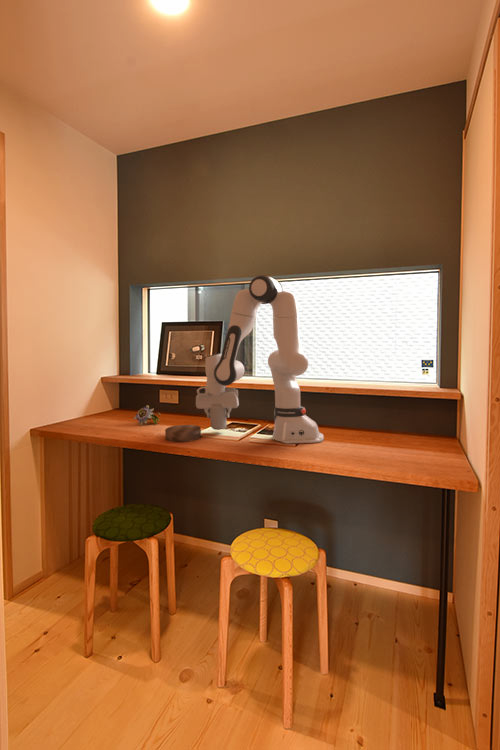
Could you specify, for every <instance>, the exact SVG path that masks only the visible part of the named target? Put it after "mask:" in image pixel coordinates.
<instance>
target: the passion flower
mask: <svg viewBox="0 0 500 750" xmlns="http://www.w3.org/2000/svg"><path fill="white" fill-rule="evenodd" d="M154 410H155V408H154V407H153V408H150V406H149V405H148V404H146V406H144V407H142V408H139V409H138V410H137V413H136V414H135V415H134V417H133V419H134V420H137V424H138V425H139V424H140V426H143V425H144V424H147V423H148V420H149V422H153V424H155V425H158V422H160V418H159V417H158V416H160V417H161V413H160V412H159V411H158V412H155V413H154V412H153V411H154ZM156 414H158V416H157V415H156Z"/></svg>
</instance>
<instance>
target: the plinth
mask: <svg viewBox="0 0 500 750" xmlns="http://www.w3.org/2000/svg"><path fill="white" fill-rule="evenodd" d="M164 430H165V431H164V432H165V433H164V434H165V440H166V441H168V442H170V441H171V442H170V443H186V442H193V441H196V440H199V439H200V438H202V431H201V430H202V429H201V426H199V425H195V424H178V425H173V426H169V427H167V428H165V429H164Z"/></svg>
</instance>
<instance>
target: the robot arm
mask: <svg viewBox="0 0 500 750" xmlns="http://www.w3.org/2000/svg"><path fill="white" fill-rule="evenodd" d="M234 298H235V299H234V301H233V304H232V308H231V314H230V319H229V324H228V329H227V333H226V336H225V340H224V342H223V343H224V344H223V346H222V347H223V348H222V351H221V353H214V354H211V355H210V354H209V355H208V356H206V358H205V365H204V366H205V375H206V385H203V386H201V387H199V388H198V389H196V393H197V394H196V396H195V407H196V408H197V409H198V410H200V409H201V410H202V409H204V412H205V415H206V417H207V419H210V411H209V410H210V407H211V406H212V405H211V404H213V405H218V404H221V406H222V407H223V408H226V411H228V412H226V414H225V417H226V419H227V418H230V413H231V412H232V409H237V408H238V407H239V406H240V403H239V402H240V401H239V390H238V389H237V388H235V387H227V386H230V385H231V384H233V383H234V382H237V381H239V380H240V379H242V378H243V377H244V375H245V372H246V371H245V366H244V364H243V363H242V362H241V361H239V360H237V359H236V358H237V354H238V350H239V347H240V344H241V343H242V341H243V340H244V339H245V338H246V337H247V336H249V334H250V333H251V332H252V330H253V328H254V326H255V322H256V318H257V312H258V309H259V307H260V306H261V305H267V304H270V305H271V308H272V324H273V325H272V329H273V330H272V331H273V333H272V334H273V339H274V340H275V342H276V344H277V350H274V351H273V352H271V353H270V354H269V355H268V358H267V366H268V367H269V369H270V372H271V376H272V377H271V378H272V382H273V386H274V402H275V404H274V405H275V406H274V409H273V411H274V412H273V415H274V417H273V418H274V429H273V433H272V437H273V438H274V439H275V440H274V439H273V438H272V439H273V440H274V441H277V442H281V443H283V444H307V443H308V444H309V443H322V442H323V441H324V439H325V437H324V434H323V433H321V432H320V431H319V426H318V423H317V422H316V421H314V420H313V419H312V418H310V417H309V416H307V415H306V413H307V410H306V408H305V406H302V405H301V388H300V386H299V384H298V381H297V378H296V377H298V376H302V375H304V373H305V372H307V370H308V367H309V361H308V357H307V356H306V354H305V352H304V349H303V347H302V345H303V344H302V342H301V336H300V320H299V319H300V316H299V306H298V305H299V304H298V300H297V296H296V295H295V293H294V292H292V291H287V290H284V289H283V286H282V284H281V283H280V282H279V281H278V280H277V279H274V278H273V277H271V276H266V275H257V276H255V277H254V278H252V280H251V281H250V283H249V285H248V288H247V289H245V288H243V289H241V290H239V291H238V292H237V293H236V296H235V297H234Z"/></svg>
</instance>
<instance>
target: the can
mask: <svg viewBox="0 0 500 750" xmlns="http://www.w3.org/2000/svg"><path fill="white" fill-rule="evenodd" d="M211 405H212V406H211V407H210V409H209V414H210V418H209V420H210V427H211V429H213V430H217V431H219V430H224V429H226V427H227V425H228V423H227V418H226V417H225V414H226V413H227V408H223V407H222V406H221V404H218V405H213V404H211Z"/></svg>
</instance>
